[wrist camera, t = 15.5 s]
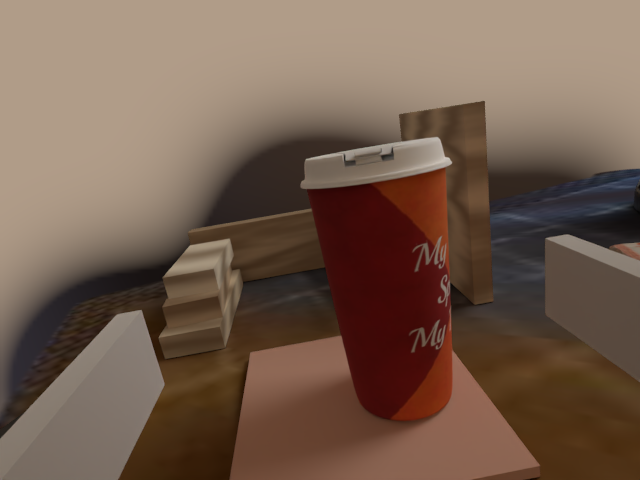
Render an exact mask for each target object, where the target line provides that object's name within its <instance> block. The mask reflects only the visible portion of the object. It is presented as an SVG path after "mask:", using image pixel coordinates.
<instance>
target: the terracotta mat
mask: <svg viewBox="0 0 640 480" xmlns="http://www.w3.org/2000/svg"><path fill="white" fill-rule="evenodd" d="M452 372H453V382H452V395H451V398H450V400H449V402H448V403H447V404H446V406H445V407H443V408H442V409H441V410H440V411H438V412H437V413H435V414H433V415H431V416H428V417H425V418H422V419H417V420H410V421H395V420H388V419H384V418H381V417H378V416H376V415H373V414H372V413H370V412H368V411H367V410H366V409H365V408H364V407H363V406H362V405H361V404H360V402H359V400H358V398H357V395H356V392H355V388H354V385H353V381H352V377H351V373H350V369H349V365H348V361H347V357H346V353H345V349H344V345H343V341H342V336H336V337H331V338H326V339H320V340H315V341H310V342H304V343H299V344H293V345H288V346H283V347H277V348H272V349H266V350H261V351H256V352H251V353H250V359H249V365H248V371H247V377H246V383H245V389H244V395H243V401H242V407H241V413H240V419H239V425H238V431H237V438H236V444H235V450H234V456H233V462H232V468H231V474H230V480H526V479H531V478H536V477H540V465H539V464H538V463H537V461H536V460H535V459H534V457H533V456H532V455H531V453H530V452H529V451H528V449H527V448H526V447H525V445H524V444H523V443H522V441H521V440H520V439H519V437H518V436H517V435H516V433H515V432H514V431H513V429H512V428H511V427H510V425H509V424H508V423H507V422H506V420H505V419H504V418H503V416H502V415H501V414H500V412H499V411H498V410H497V408H496V407H495V406H494V404H493V403H492V402H491V400H490V399H489V398H488V396H487V395H486V394H485V392H484V391H483V390H482V388H481V387H480V386H479V385H478V383H477V382H476V381H475V379H474V378H473V377H472V375H471V374H470V373H469V371H468V370H467V369H466V367H465V366H464V365H463V363H462V362H461V361H460V359H459V358H458V357H457V355H456V354H455V353H454V351H453V350H452Z"/></svg>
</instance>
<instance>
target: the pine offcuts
mask: <svg viewBox="0 0 640 480" xmlns="http://www.w3.org/2000/svg"><path fill="white" fill-rule="evenodd" d="M233 256H234V254H233V250H232V245H231V241H230V239H224V240H218V241H213V242H207V243H201V244H196V245H190V246H189V247H188V249H187V250H186V251H185V252H184V253H183V255H182V256H181V257H180V258H179V259H178V260H177V262H176V263H175V264H174V265H173V266H172V267H171V269H170V270H169V271H168V272H167V273H166V274H165V276H164V277H163V281H164V284H165V288H166V291H167V295H168V298H167V300H166V301H165V303H164V305H163V307H162V309H163V312H164V315H165V319H166V322H167V325H166V326H165V328H164V330H163V331H162V333H161V334H160V336H159V341H160V345H161V348H162V351H163V354H164V358H165V359H169V358H174V357H180V356H185V355H190V354H196V353H201V352H207V351H212V350H217V349H223V348H225V347H226V344H227V340H228V337H229V333H230V330H231V326H232V323H233V319H234V316H235V312H236V309H237V305H238V302H239V298H240V295H241V291H242V288H243V281H242V277H241V273H240V269H237V270H232V269H231V264H230V263H231V261H232V259H233Z"/></svg>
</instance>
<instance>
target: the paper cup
mask: <svg viewBox="0 0 640 480" xmlns="http://www.w3.org/2000/svg"><path fill="white" fill-rule="evenodd" d="M451 164H452V161H451V160H450V158H448V157H445V156H444V152H443V148H442V144H441V140H440V139H439V138H438V137H432V138H424V139H416V140H410V141H403V142H397V143H390V144H384V145H378V146H373V147H366V148H361V149H355V150H350V151H345V152H339V153H333V154H329V155H323V156H319V157H314V158H310V159H306V161H305V180H303V181H302V182H301V186H300V187H301V188H303V189H307V192H308V196H309V200H310V204H311V209H312V213H313V217H314V221H315V226H316V230H317V234H318V239H319V243H320V247H321V251H322V256H323V260H324V264H325V268H326V273H327V277H328V281H329V286H330V290H331V294H332V298H333V303H334V307H335V311H336V315H337V319H338V324H339V328H340V332H341V336H342V341H343V345H344V349H345V353H346V357H347V361H348V365H349V369H350V373H351V377H352V381H353V385H354V388H355V392H356V395H357V398H358V400H359V402H360V404H361V405H362V406H363V407H364V408H365V409H366V410H367V411H368V412H370V413H372V414H373V415H376V416H378V417H381V418H384V419H388V420H395V421H410V420H417V419H422V418H425V417H428V416H431V415H433V414H435V413H437V412H438V411H440V410H441V409H442V408H443V407H445V406H446V404H447V403H448V402H449V400H450V398H451V395H452V382H453V372H452V330H451V301H450V273H449V246H448V220H447V193H446V167H447V166H449V165H451Z"/></svg>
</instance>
